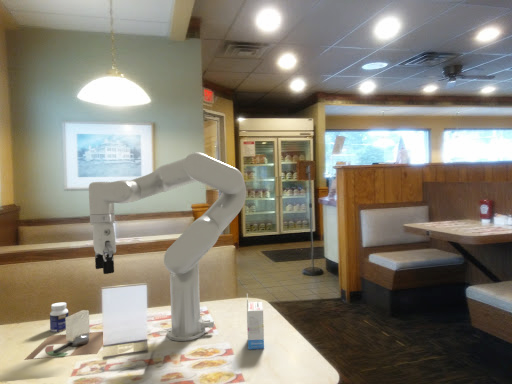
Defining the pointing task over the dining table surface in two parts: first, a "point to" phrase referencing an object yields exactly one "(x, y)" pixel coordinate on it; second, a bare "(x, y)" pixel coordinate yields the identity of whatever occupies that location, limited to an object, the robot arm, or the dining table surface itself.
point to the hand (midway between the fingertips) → (104, 270)
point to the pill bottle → (58, 317)
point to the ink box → (255, 325)
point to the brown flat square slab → (60, 340)
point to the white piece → (76, 330)
